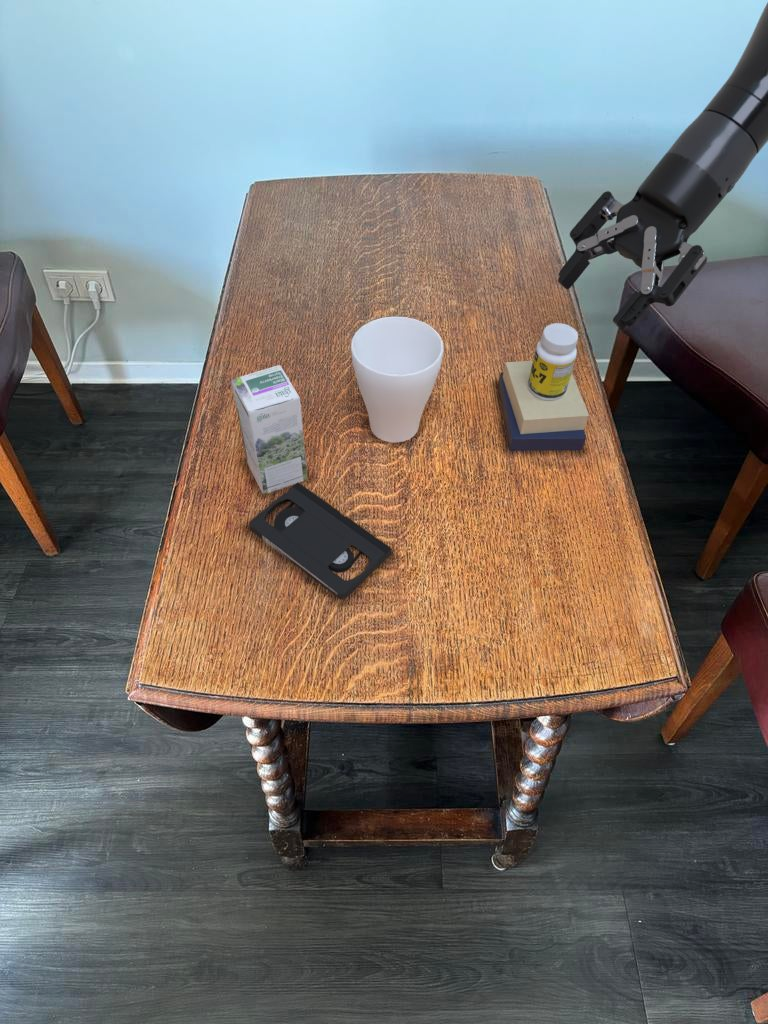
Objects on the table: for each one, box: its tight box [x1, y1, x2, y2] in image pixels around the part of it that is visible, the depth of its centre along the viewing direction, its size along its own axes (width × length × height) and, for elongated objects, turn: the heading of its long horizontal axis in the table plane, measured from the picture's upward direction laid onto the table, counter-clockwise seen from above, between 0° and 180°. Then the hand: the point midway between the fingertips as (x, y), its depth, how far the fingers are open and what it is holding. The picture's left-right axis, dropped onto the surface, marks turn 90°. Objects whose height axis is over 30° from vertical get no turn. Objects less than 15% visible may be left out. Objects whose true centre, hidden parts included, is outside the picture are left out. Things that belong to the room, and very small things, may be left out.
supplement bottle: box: [528, 322, 579, 400], centre depth 86 cm, size 5×5×8 cm
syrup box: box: [230, 364, 308, 495], centre depth 81 cm, size 6×6×14 cm
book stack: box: [497, 360, 590, 452], centre depth 91 cm, size 12×9×6 cm
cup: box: [350, 315, 444, 444], centre depth 87 cm, size 10×10×14 cm
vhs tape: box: [249, 482, 392, 601], centre depth 80 cm, size 14×8×2 cm, turn 49°
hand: (589, 305), depth 79 cm, fingers open, 8 cm apart
